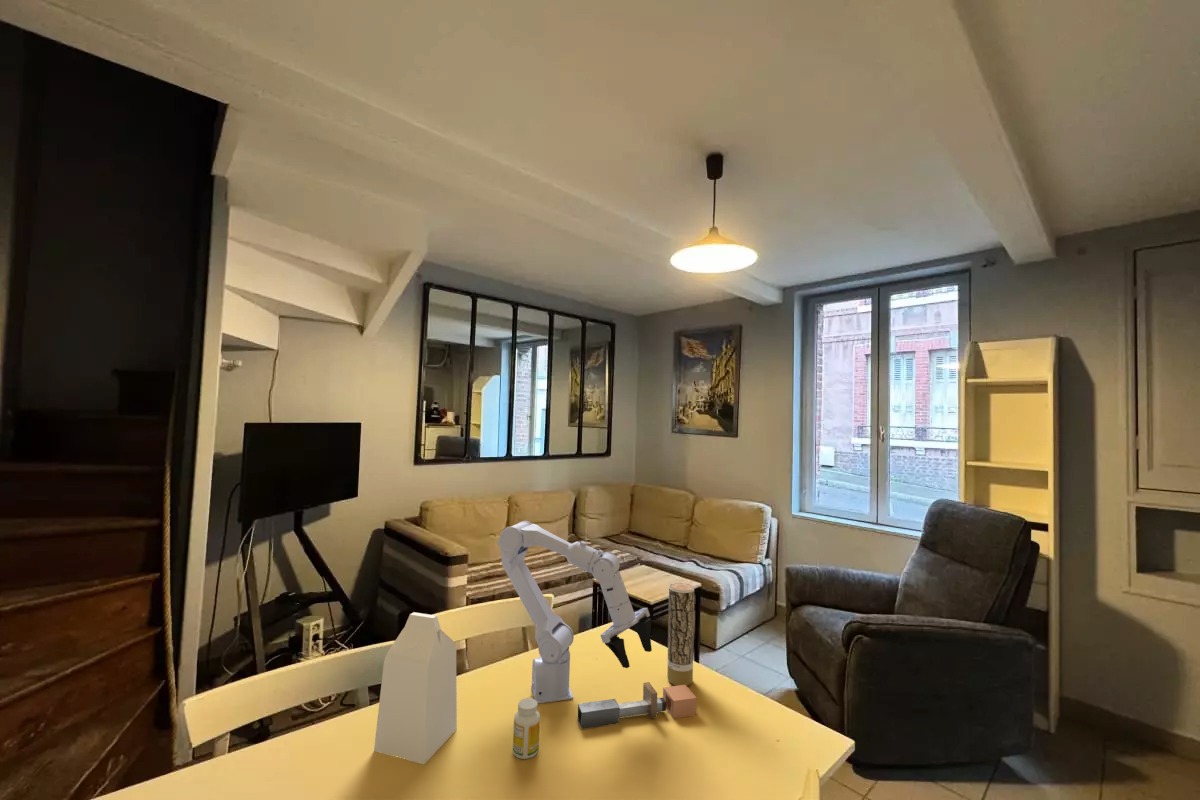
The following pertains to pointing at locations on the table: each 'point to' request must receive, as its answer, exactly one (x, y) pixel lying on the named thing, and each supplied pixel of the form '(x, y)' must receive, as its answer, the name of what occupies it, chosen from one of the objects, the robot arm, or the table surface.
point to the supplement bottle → (526, 729)
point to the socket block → (680, 701)
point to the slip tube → (644, 704)
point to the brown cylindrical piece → (680, 634)
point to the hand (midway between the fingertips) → (637, 658)
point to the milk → (417, 691)
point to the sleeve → (598, 713)
